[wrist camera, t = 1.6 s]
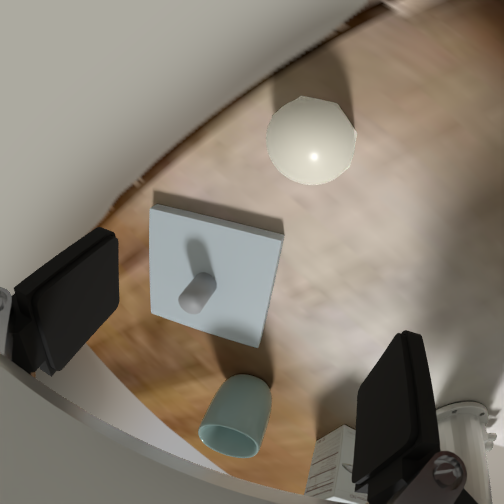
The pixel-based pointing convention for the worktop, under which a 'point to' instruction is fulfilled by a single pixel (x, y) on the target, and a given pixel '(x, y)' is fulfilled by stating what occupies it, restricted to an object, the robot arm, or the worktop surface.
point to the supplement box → (334, 468)
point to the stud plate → (212, 273)
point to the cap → (310, 140)
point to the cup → (237, 417)
